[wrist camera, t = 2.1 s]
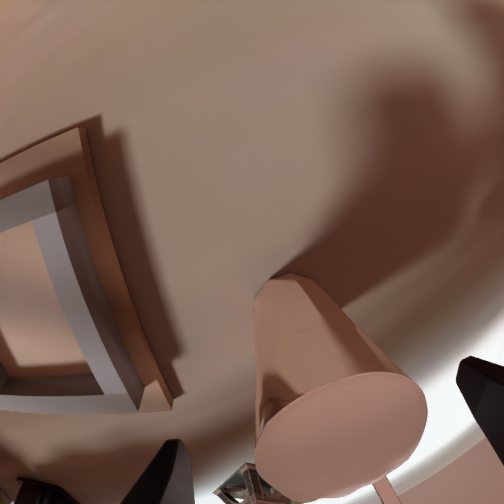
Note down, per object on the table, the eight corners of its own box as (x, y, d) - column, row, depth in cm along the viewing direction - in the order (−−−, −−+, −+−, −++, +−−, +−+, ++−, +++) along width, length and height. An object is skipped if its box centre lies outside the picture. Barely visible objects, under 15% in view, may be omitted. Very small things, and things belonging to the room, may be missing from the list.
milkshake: (282, 372, 15) (332, 553, 6) (217, 297, 14) (217, 518, 4) (357, 323, 15) (469, 480, 5) (304, 237, 13) (451, 401, 4)
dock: (173, 400, 15) (168, 435, 13) (18, 404, 15) (4, 428, 12) (85, 128, 11) (56, 124, 8) (-65, 207, 11) (-93, 217, 8)
